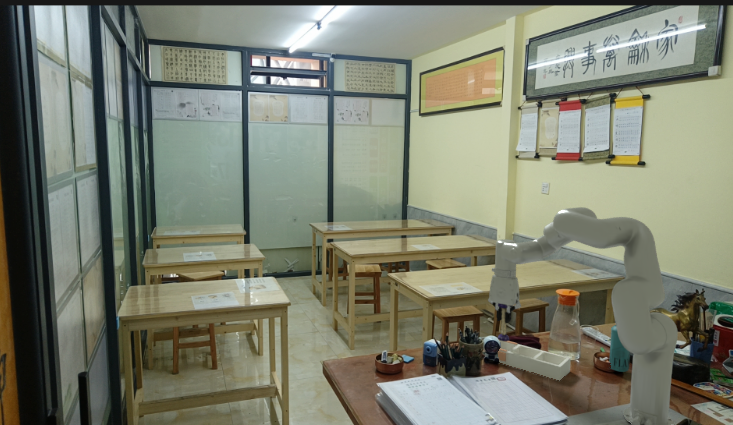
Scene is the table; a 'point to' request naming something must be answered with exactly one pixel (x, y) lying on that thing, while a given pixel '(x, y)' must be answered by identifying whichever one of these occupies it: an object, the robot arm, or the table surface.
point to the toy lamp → (503, 324)
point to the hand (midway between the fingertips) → (503, 320)
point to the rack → (534, 360)
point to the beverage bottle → (618, 353)
